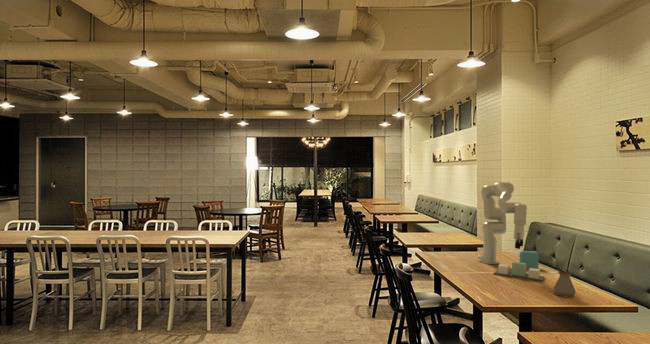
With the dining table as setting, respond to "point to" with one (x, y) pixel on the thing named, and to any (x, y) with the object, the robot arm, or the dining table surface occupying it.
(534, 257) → the data package
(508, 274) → the rail plate
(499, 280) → the dining table surface
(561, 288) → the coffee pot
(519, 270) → the module block
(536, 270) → the mounted modules
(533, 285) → the dining table surface
